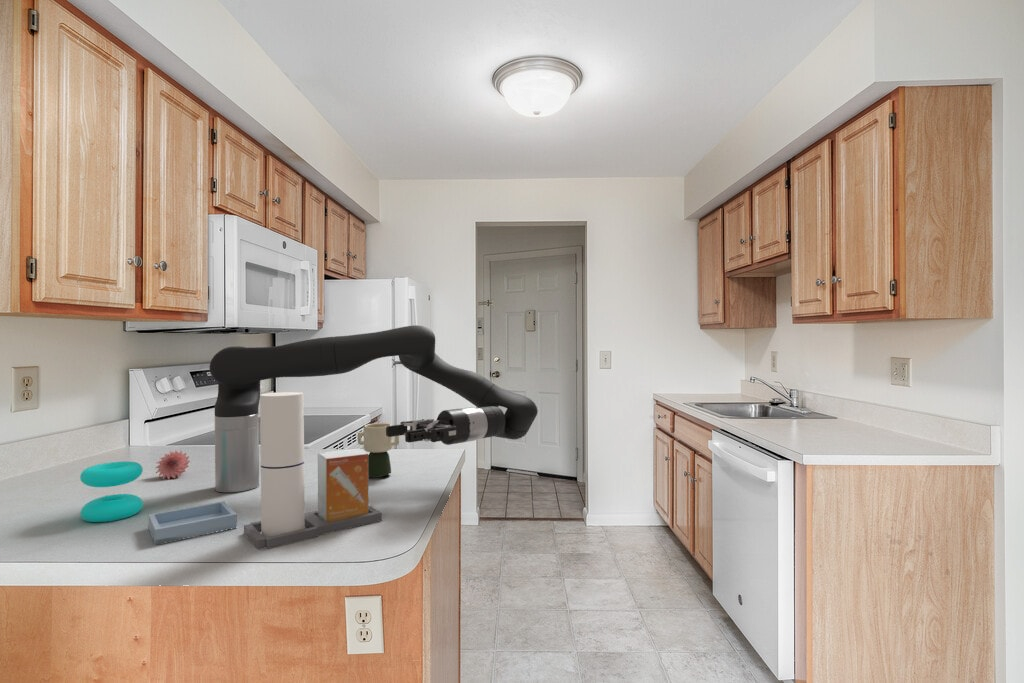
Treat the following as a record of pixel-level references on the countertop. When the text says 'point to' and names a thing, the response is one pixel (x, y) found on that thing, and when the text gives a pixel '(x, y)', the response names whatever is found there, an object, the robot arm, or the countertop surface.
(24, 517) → the countertop surface
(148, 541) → the countertop surface
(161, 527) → the tray
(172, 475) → the flower
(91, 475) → the donuts
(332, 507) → the small box
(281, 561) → the countertop surface
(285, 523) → the cylindrical container
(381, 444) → the character mug
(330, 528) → the holder
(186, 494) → the countertop surface
